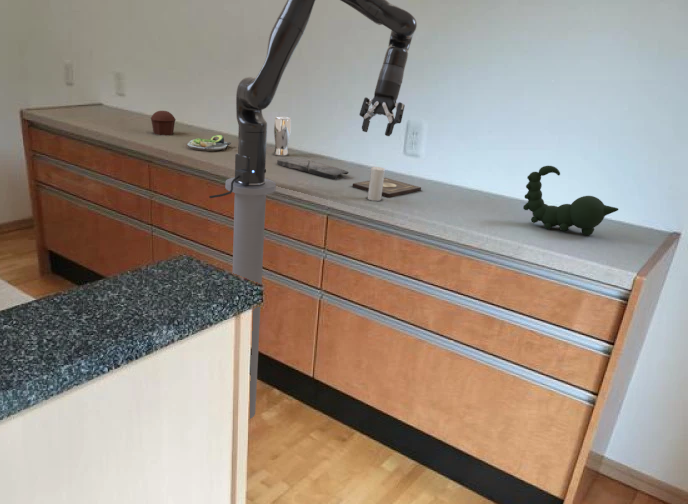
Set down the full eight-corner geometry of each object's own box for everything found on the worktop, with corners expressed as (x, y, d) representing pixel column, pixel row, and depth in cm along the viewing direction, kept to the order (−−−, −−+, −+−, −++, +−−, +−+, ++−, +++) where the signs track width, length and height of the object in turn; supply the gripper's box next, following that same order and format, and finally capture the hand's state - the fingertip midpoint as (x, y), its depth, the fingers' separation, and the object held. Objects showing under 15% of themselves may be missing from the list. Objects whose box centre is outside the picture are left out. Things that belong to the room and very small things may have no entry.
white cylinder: (375, 201, 194) (379, 170, 190) (364, 198, 197) (368, 167, 193) (383, 199, 197) (387, 169, 193) (373, 196, 200) (377, 166, 196)
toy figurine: (518, 230, 180) (611, 242, 168) (526, 166, 173) (624, 173, 161) (524, 223, 188) (614, 234, 175) (532, 161, 181) (627, 168, 168)
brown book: (388, 197, 200) (388, 193, 199) (352, 186, 210) (352, 182, 210) (420, 190, 211) (421, 186, 211) (385, 180, 222) (385, 177, 221)
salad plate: (226, 154, 247) (226, 142, 245) (182, 150, 248) (182, 139, 246) (232, 145, 265) (233, 134, 263) (192, 142, 265) (192, 131, 264)
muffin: (146, 132, 282) (145, 109, 278) (166, 130, 289) (166, 108, 285) (159, 136, 274) (159, 113, 270) (180, 134, 281) (180, 112, 277)
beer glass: (291, 156, 252) (293, 119, 246) (275, 156, 250) (277, 118, 244) (285, 152, 258) (288, 116, 252) (270, 152, 256) (272, 116, 249)
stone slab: (334, 174, 216) (275, 155, 234) (332, 182, 218) (275, 163, 236) (352, 171, 223) (294, 153, 241) (350, 179, 225) (293, 161, 243)
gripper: (364, 76, 191) (351, 127, 194) (404, 81, 183) (389, 134, 186) (376, 83, 197) (362, 132, 200) (414, 87, 189) (400, 139, 192)
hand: (375, 133), depth 193 cm, fingers open, 8 cm apart
